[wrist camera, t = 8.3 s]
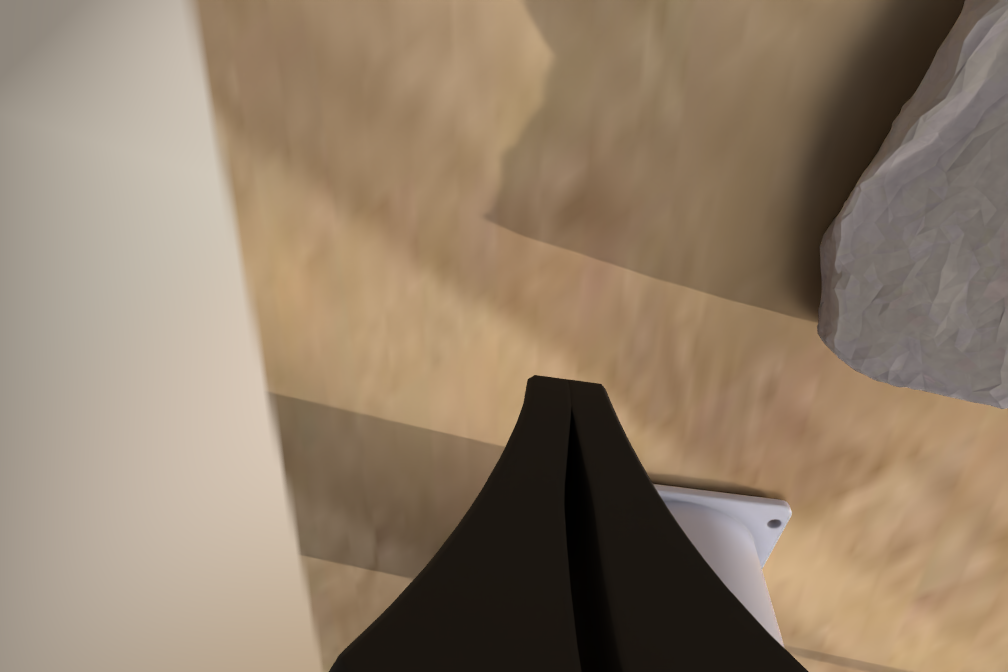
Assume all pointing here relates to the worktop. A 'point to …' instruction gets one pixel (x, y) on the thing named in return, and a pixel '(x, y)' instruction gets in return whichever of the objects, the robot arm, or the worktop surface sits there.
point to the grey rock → (931, 230)
